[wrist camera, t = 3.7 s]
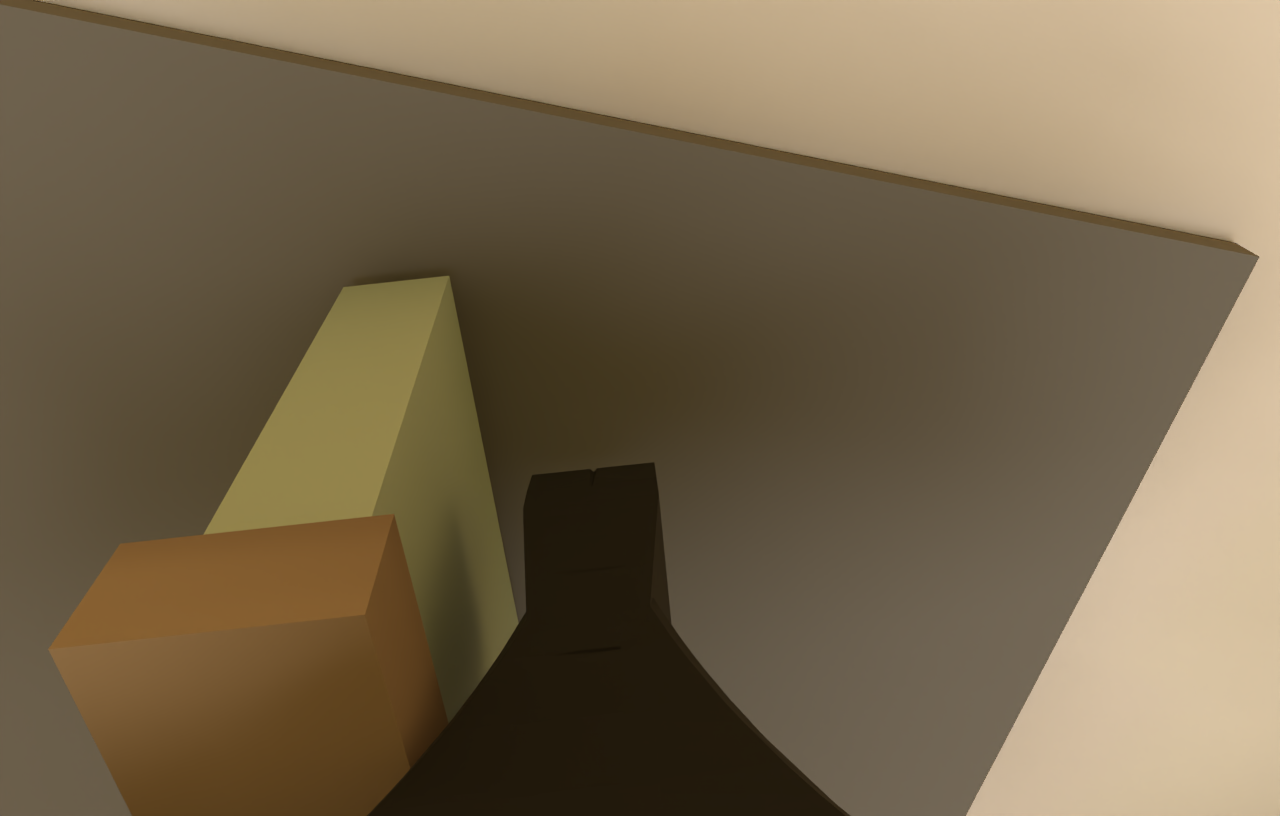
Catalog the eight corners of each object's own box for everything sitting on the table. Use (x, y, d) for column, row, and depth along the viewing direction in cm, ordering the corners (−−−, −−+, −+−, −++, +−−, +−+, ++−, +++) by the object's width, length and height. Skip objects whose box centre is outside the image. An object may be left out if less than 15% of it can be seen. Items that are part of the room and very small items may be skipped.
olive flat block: (578, 825, 16) (576, 1334, 10) (464, 837, 16) (403, 1354, 10) (470, 247, 11) (364, 614, 6) (310, 264, 11) (49, 650, 6)
